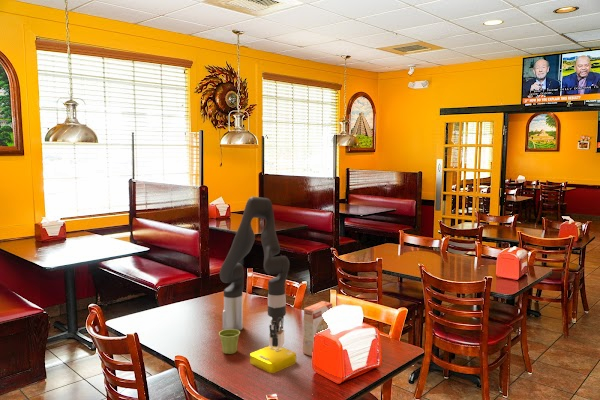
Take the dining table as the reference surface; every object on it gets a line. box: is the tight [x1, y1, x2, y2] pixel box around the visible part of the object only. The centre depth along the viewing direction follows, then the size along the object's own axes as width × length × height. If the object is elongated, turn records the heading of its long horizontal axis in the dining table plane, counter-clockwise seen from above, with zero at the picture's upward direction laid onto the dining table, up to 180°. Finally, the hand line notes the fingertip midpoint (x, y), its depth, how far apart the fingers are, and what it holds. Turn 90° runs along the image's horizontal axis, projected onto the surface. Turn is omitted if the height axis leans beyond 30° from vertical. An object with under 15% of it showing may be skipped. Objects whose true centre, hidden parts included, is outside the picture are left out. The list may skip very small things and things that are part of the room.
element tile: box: [249, 345, 297, 374], centre depth 205 cm, size 15×15×5 cm
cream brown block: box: [269, 329, 285, 348], centre depth 202 cm, size 5×5×6 cm
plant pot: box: [218, 329, 241, 355], centre depth 216 cm, size 9×9×9 cm
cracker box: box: [302, 300, 333, 357], centre depth 216 cm, size 14×6×21 cm, turn 140°
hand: (276, 343), depth 202 cm, fingers closed on cream brown block, 5 cm apart
